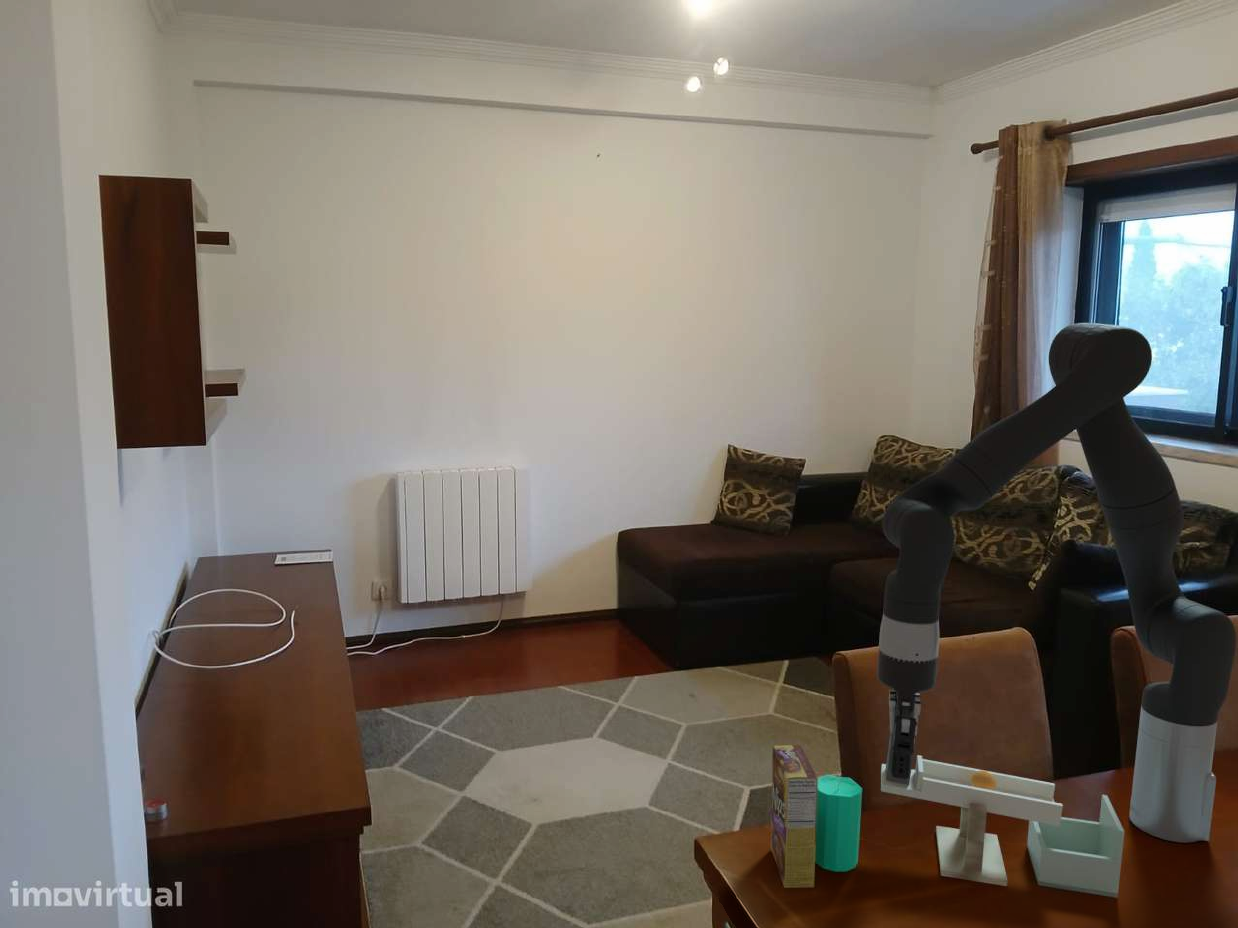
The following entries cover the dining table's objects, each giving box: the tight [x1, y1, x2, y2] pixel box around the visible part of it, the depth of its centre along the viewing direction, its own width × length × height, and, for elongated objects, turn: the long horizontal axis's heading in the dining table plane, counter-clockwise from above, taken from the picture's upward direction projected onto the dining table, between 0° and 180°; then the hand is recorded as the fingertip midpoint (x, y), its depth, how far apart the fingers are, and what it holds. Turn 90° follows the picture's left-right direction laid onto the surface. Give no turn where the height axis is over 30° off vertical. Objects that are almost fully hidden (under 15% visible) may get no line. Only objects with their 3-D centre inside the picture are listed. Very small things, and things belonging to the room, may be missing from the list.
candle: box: [815, 774, 863, 873], centre depth 123 cm, size 6×6×12 cm
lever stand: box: [935, 803, 1008, 887], centre depth 124 cm, size 8×11×10 cm
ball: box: [971, 770, 996, 790], centre depth 123 cm, size 3×3×3 cm
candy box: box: [770, 744, 819, 889], centre depth 120 cm, size 9×4×15 cm, turn 2°
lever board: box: [880, 732, 1064, 826], centre depth 123 cm, size 22×7×8 cm, turn 75°
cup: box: [1026, 794, 1125, 899], centre depth 121 cm, size 9×9×9 cm
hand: (899, 768), depth 125 cm, fingers closed on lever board, 3 cm apart
